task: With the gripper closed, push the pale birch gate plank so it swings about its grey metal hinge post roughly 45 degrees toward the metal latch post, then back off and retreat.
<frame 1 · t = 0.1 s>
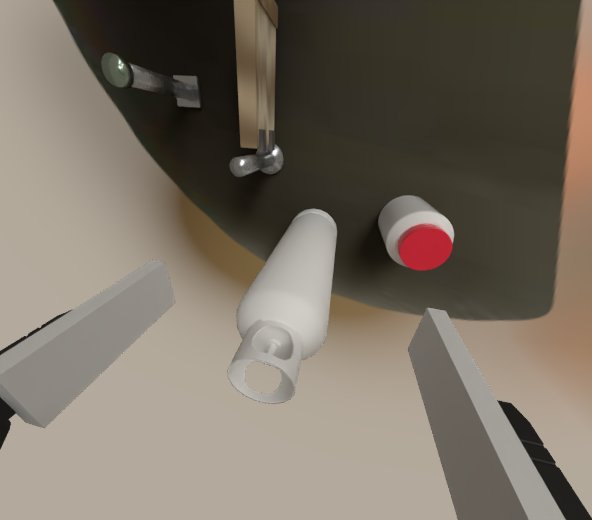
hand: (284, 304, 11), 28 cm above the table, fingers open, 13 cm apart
pill bottle: (403, 219, 35), on the table
latch post: (189, 92, 32), on the table
hinge post: (270, 158, 35), on the table
gate: (260, 80, 26), point 5 cm above the table, hinge at 0.0°
bottle: (313, 231, 39), on the table
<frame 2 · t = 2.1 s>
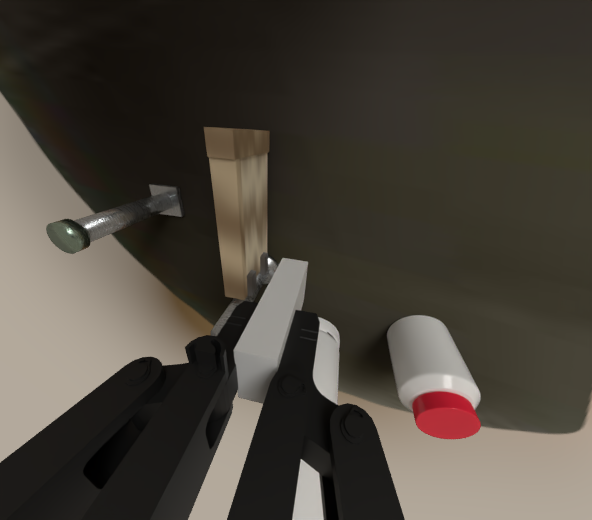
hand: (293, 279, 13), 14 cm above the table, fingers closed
pill bottle: (416, 334, 31), on the table
latch post: (169, 199, 28), on the table
hinge post: (263, 267, 30), on the table
gate: (248, 217, 22), point 5 cm above the table, hinge at 0.0°
bottle: (313, 334, 35), on the table
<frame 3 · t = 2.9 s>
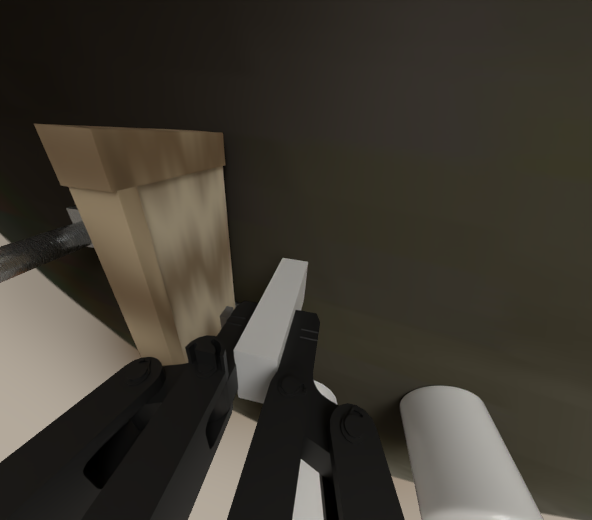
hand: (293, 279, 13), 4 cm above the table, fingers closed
pill bottle: (439, 406, 23), on the table
latch post: (98, 228, 20), on the table
gate: (190, 269, 14), point 5 cm above the table, hinge at 0.0°
bottle: (303, 396, 27), on the table
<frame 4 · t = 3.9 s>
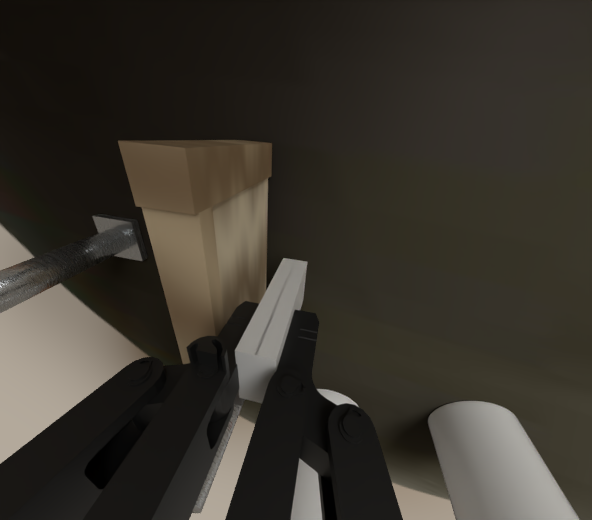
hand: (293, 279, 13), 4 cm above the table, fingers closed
pill bottle: (469, 421, 22), on the table
latch post: (124, 236, 19), on the table
hinge post: (260, 329, 22), on the table
gate: (235, 285, 13), point 5 cm above the table, hinge at 0.1°, touching gripper
bottle: (325, 408, 26), on the table
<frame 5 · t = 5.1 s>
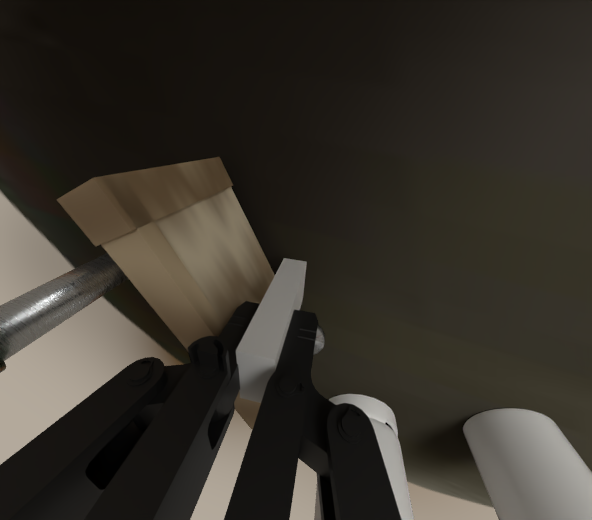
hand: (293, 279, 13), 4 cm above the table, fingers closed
pill bottle: (505, 427, 23), on the table
latch post: (166, 237, 19), on the table
gate: (238, 293, 13), point 5 cm above the table, hinge at 28.2°, touching gripper
bottle: (357, 413, 26), on the table
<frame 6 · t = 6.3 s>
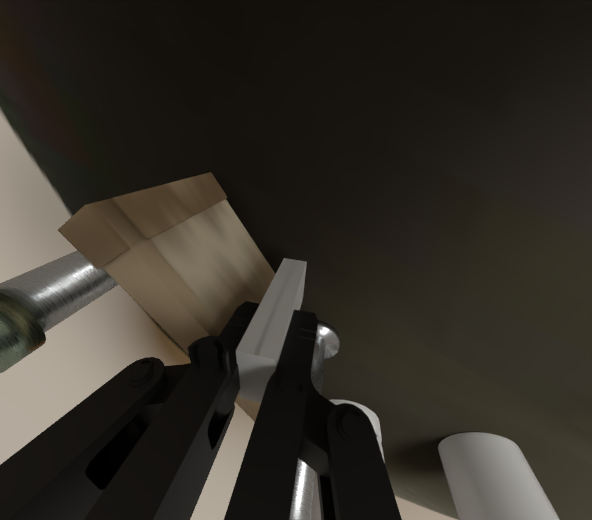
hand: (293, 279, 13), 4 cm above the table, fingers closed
pill bottle: (476, 448, 25), on the table
latch post: (201, 213, 17), on the table
hinge post: (315, 338, 21), on the table
gate: (242, 302, 14), point 5 cm above the table, hinge at 49.0°, touching gripper
bottle: (343, 417, 27), on the table
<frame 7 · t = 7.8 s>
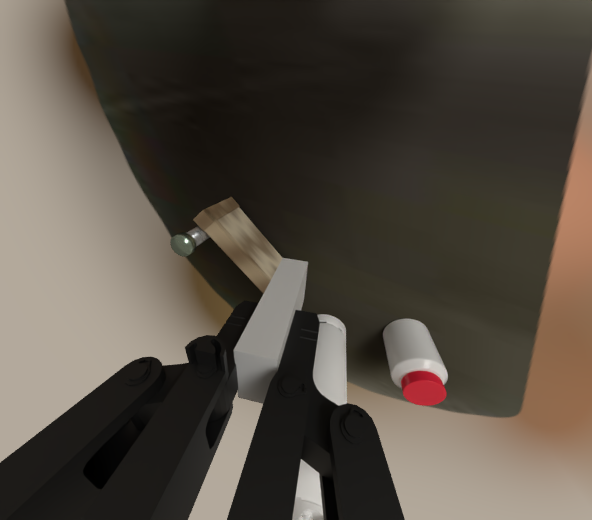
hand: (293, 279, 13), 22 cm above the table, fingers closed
pill bottle: (404, 334, 41), on the table
latch post: (228, 216, 36), on the table
gate: (251, 247, 32), point 5 cm above the table, hinge at 49.0°
bottle: (324, 329, 44), on the table
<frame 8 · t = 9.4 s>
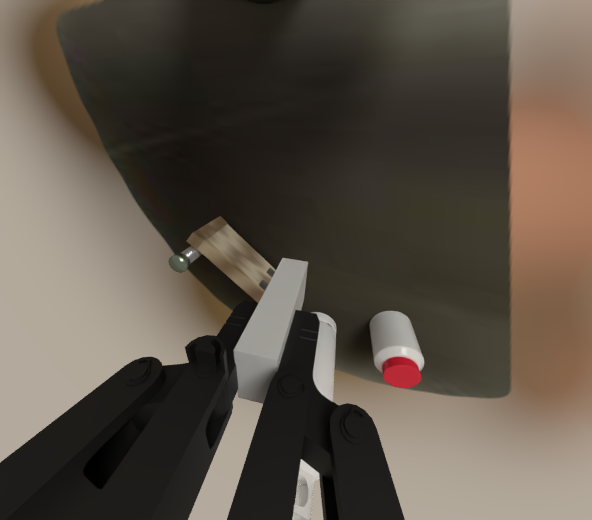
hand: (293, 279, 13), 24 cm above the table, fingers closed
pill bottle: (389, 325, 44), on the table
latch post: (220, 232, 41), on the table
gate: (239, 258, 37), point 5 cm above the table, hinge at 49.0°
bottle: (317, 325, 48), on the table
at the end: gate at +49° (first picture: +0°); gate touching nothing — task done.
